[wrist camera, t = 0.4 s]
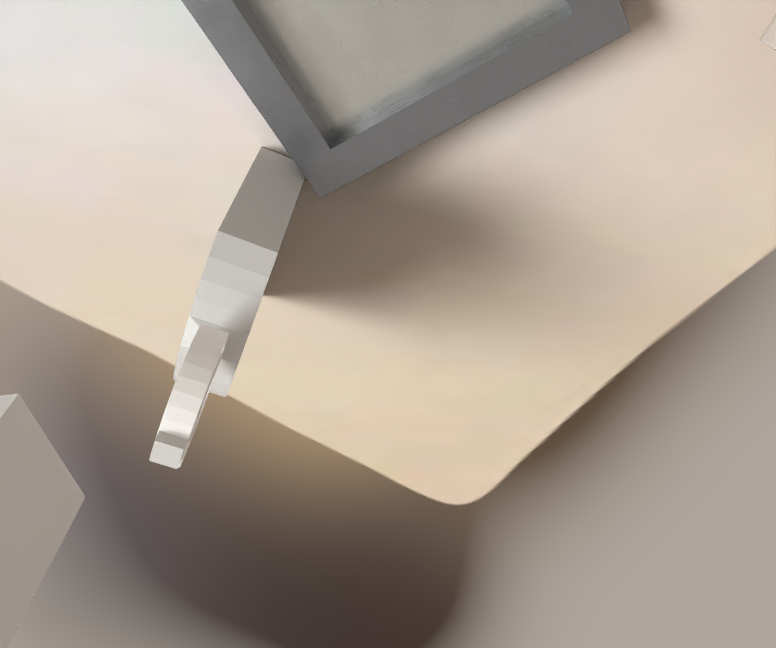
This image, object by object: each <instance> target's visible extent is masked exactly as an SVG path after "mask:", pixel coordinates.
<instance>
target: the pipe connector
mask: <svg viewBox="0 0 776 648" xmlns="http://www.w3.org/2000/svg"><path fill="white" fill-rule="evenodd" d="M759 41H760V42H762V43H763V44H765V45H767V46H769V47H771V48H772V49H774V50H776V14H775V16H774V17H773V19H772V21H771V22H770V24H769V25H768V27H767V28H766V30H765V31H764V33H763V34H762V36H761V37H760V39H759Z"/></svg>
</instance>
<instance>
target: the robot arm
mask: <svg viewBox="0 0 776 648" xmlns="http://www.w3.org/2000/svg"><path fill="white" fill-rule="evenodd" d="M84 499H85V496H84V494H83V493H82V491H81V490H80V488H79V487H78V485H77V483H76V482H75V480H74V479H73V477H72V476H71V474H70V473H69V471H68V470H67V468H66V466H65V465H64V463H63V462H62V460H61V459H60V457H59V456H58V454H57V452H56V451H55V449H54V448H53V446H52V445H51V443H50V442H49V440H48V438H47V437H46V435H45V434H44V432H43V431H42V429H41V428H40V426H39V425H38V423H37V421H36V420H35V418H34V417H33V415H32V414H31V412H30V411H29V409H28V407H27V406H26V404H25V403H24V401H23V400H22V398H21V397H20V395H19V394H11V395H2V396H0V648H7V647H8V645H9V643H10V641H11V639H12V637H13V636H14V634H15V632H16V630H17V628H18V626H19V624H20V622H21V620H22V618H23V616H24V614H25V612H26V610H27V608H28V607H29V605H30V603H31V601H32V599H33V597H34V595H35V593H36V591H37V589H38V587H39V585H40V584H41V582H42V580H43V578H44V576H45V574H46V572H47V570H48V568H49V566H50V564H51V562H52V560H53V558H54V557H55V555H56V553H57V550H58V549H59V547H60V545H61V543H62V541H63V539H64V537H65V535H66V533H67V531H68V530H69V528H70V526H71V523H72V522H73V520H74V518H75V516H76V514H77V512H78V510H79V508H80V506H81V504H82V503H83V501H84Z"/></svg>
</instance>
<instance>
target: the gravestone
mask: <svg viewBox="0 0 776 648" xmlns="http://www.w3.org/2000/svg"><path fill="white" fill-rule="evenodd" d="M304 179H305V176H304V175H303V173H302V172H301V170H300V169H299V168H298V166H297V165H296V163H295V162H294V160H293V159H291V158H289V157H286V156H284V155H281V154H279V153H276V152H274V151H271V150H269V149H266V148H264V147H261V149H260V151H259V153H258V155H257V156H256V158H255V160H254V162H253V164H252V166H251V168H250V170H249V172H248V174H247V176H246V178H245V180H244V182H243V183H242V185H241V187H240V189H239V191H238V193H237V195H236V197H235V199H234V201H233V203H232V205H231V207H230V209H229V211H228V212H227V214H226V216H225V218H224V220H223V222H222V224H221V226H220V228H219V230H218V232H217V235H216V238H215V240H214V243H213V246H212V249H211V251H210V254H209V257H208V260H207V263H206V266H205V269H204V272H203V274H202V277H201V280H200V283H199V287H198V290H197V293H196V296H195V299H194V302H193V305H192V309H191V312H190V315H189V318H188V322H187V325H186V328H185V331H184V335H183V339H182V342H181V346H180V350H179V353H178V357H177V361H176V366H175V370H174V380H175V381H176V382H175V385H174V387H173V390H172V393H171V395H170V398H169V401H168V404H167V406H166V409H165V412H164V415H163V418H162V421H161V424H160V427H159V430H158V433H157V436H156V439H155V443H154V445H153V449H152V452H151V456H150V459H149V460H150V461H152V462H156V463H159V464H162V465H165V466H169V467H172V468H176V469H177V468H178V467H180V466H181V464H182V462H183V459H184V457H185V454H186V452H187V449H188V447H189V444H190V442H191V439H192V437H193V434H194V431H195V429H196V426H197V423H198V420H199V418H200V415H201V413H202V410H203V407H204V404H205V402H206V399H207V396H208V393H209V392H211V393H214V394H217V395H221V396H224V397H226V395H227V393H228V390H229V387H230V385H231V382H232V379H233V376H234V374H235V371H236V368H237V365H238V363H239V360H240V357H241V354H242V352H243V349H244V346H245V343H246V340H247V338H248V335H249V332H250V329H251V327H252V324H253V321H254V318H255V316H256V313H257V310H258V307H259V305H260V302H261V299H262V296H263V294H264V291H265V288H266V285H267V282H268V280H269V277H270V274H271V271H272V269H273V266H274V263H275V260H276V258H277V255H278V252H279V249H280V246H281V244H282V241H283V238H284V235H285V232H286V230H287V227H288V224H289V221H290V218H291V216H292V213H293V210H294V207H295V204H296V202H297V199H298V196H299V193H300V190H301V188H302V185H303V182H304Z"/></svg>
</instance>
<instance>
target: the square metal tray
mask: <svg viewBox="0 0 776 648" xmlns="http://www.w3.org/2000/svg"><path fill="white" fill-rule="evenodd" d="M182 2H183V3H184V5H185V6H186V7H187V9H188V10H189V12H190V13H191V15H192V16H193V17H194V19H195V20H196V22H197V23H198V25H199V26H200V27H201V29H202V30H203V32H204V33H205V35H206V36H207V37H208V39H209V40H210V42H211V43H212V45H213V46H214V47H215V49H216V50H217V52H218V53H219V55H220V56H221V57H222V59H223V60H224V62H225V63H226V65H227V66H228V67H229V69H230V70H231V72H232V73H233V75H234V76H235V77H236V79H237V80H238V82H239V83H240V85H241V86H242V87H243V89H244V90H245V92H246V93H247V95H248V96H249V98H250V99H251V100H252V102H253V103H254V105H255V106H256V108H257V109H258V110H259V112H260V113H261V115H262V116H263V118H264V119H265V120H266V122H267V123H268V125H269V126H270V128H271V129H272V130H273V132H274V133H275V135H276V136H277V138H278V139H279V140H280V142H281V143H282V145H283V146H284V148H285V149H286V150H287V152H288V153H289V155H290V156H291V158H292V159H293V160H294V162H295V163H296V165H297V166H298V168H299V169H300V170H301V172H302V173H303V175H304V176H305V178H306V179H307V180H308V182H309V183H310V185H311V186H312V188H313V189H314V190H315V192H316V193H317V195H318V196H319V198H321V197H323V196H325V195H327V194H329V193H331V192H333V191H334V190H336V189H338V188H340V187H342V186H344V185H346V184H347V183H349V182H351V181H353V180H355V179H357V178H359V177H360V176H362V175H364V174H366V173H368V172H370V171H372V170H373V169H375V168H377V167H379V166H381V165H383V164H385V163H386V162H388V161H390V160H392V159H394V158H396V157H398V156H399V155H401V154H403V153H405V152H407V151H409V150H411V149H412V148H414V147H416V146H418V145H420V144H422V143H424V142H425V141H427V140H429V139H431V138H433V137H435V136H437V135H438V134H440V133H442V132H444V131H446V130H448V129H450V128H452V127H453V126H455V125H457V124H459V123H461V122H463V121H465V120H466V119H468V118H470V117H472V116H474V115H476V114H478V113H479V112H481V111H483V110H485V109H487V108H489V107H491V106H492V105H494V104H496V103H498V102H500V101H502V100H504V99H505V98H507V97H509V96H511V95H513V94H515V93H517V92H518V91H520V90H522V89H524V88H526V87H528V86H530V85H531V84H533V83H535V82H537V81H539V80H541V79H543V78H544V77H546V76H548V75H550V74H552V73H554V72H556V71H557V70H559V69H561V68H563V67H565V66H567V65H569V64H571V63H572V62H574V61H576V60H578V59H580V58H582V57H584V56H585V55H587V54H589V53H591V52H593V51H595V50H597V49H598V48H600V47H602V46H604V45H606V44H608V43H610V42H611V41H613V40H615V39H617V38H619V37H621V36H623V35H624V34H626V33H628V32H630V31H631V29H630V27H629V24H628V21H627V18H626V16H625V13H624V10H623V8H622V5H621V2H620V0H182Z"/></svg>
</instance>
